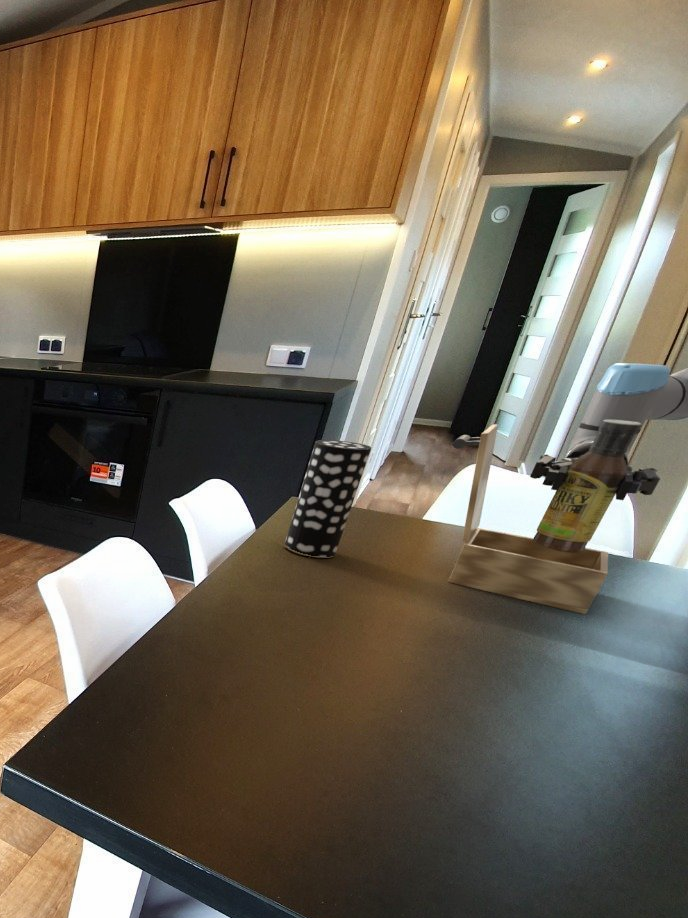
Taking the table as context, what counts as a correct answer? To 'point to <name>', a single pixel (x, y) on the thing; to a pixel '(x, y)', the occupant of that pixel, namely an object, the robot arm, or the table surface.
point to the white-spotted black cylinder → (326, 497)
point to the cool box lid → (478, 476)
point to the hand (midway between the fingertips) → (590, 485)
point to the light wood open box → (530, 570)
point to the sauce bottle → (587, 489)
